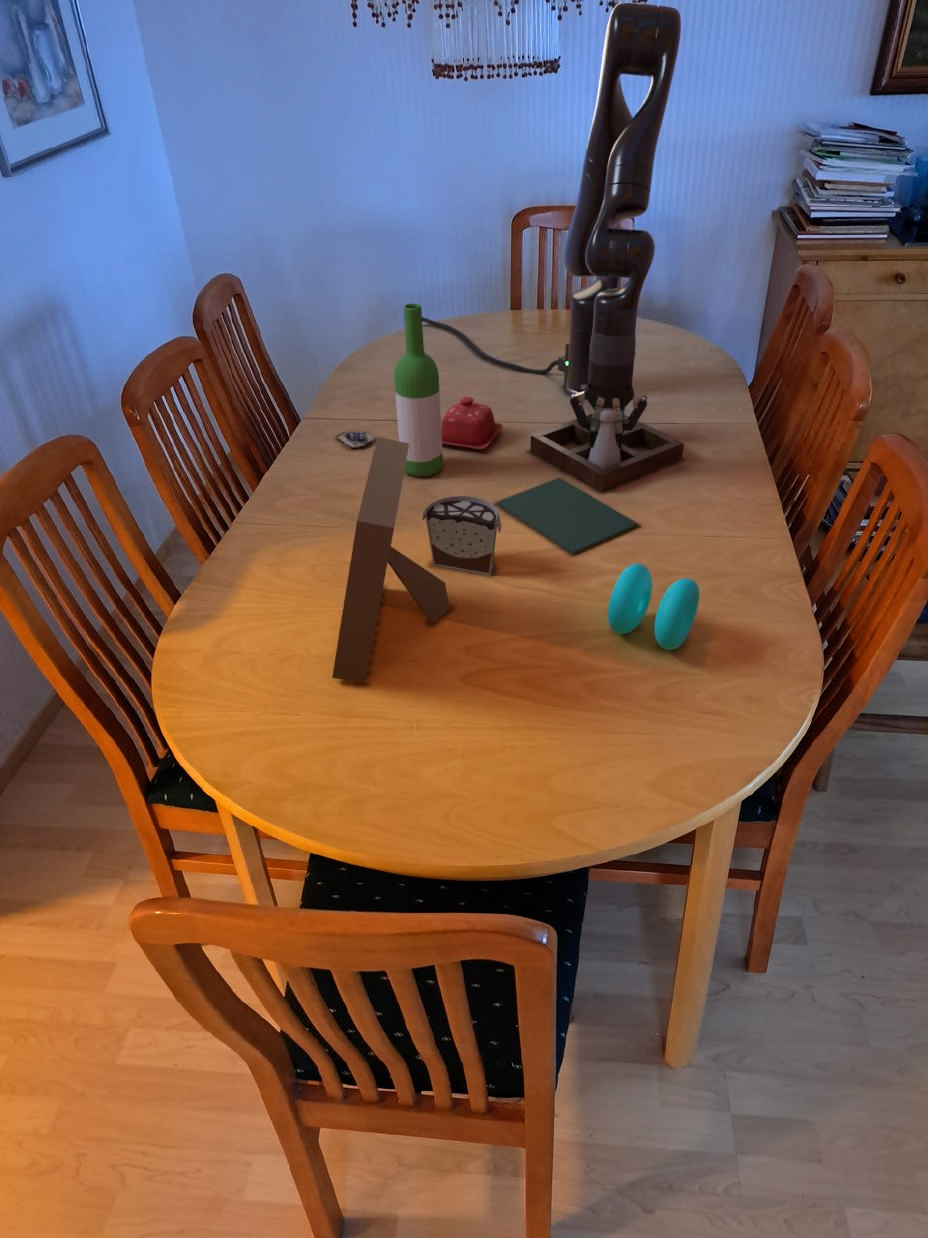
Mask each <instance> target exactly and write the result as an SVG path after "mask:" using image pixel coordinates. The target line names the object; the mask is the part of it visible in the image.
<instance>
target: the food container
mask: <svg viewBox="0 0 928 1238" xmlns="http://www.w3.org/2000/svg"><path fill="white" fill-rule="evenodd" d="M421 520H422V521H425V523H426V528H427V534H428V540H429V541H428V542H429V546H430V551H431V553H430V554H431V557H432V565H433V566H434V567H441V568H447V569H452V570H457V571H464V572H470V573H473V574H474V573H476V574H480V575H486V576H491V575H492V572H493V566H494V558H495V557H494V556H495V548H496V539H497V531H498V533H501V530H502V522H501V516H500V514H499V512H498V510H497V508H496V507H495V506H494V504H492V503H491V502H490V501H487V500H485V499H483V498H480V497H474V496H469V495H454V496H447V497H443V498H440V499H437V500H435V501H432V502H431V503H430V504H428V505H427V506H426V507H425V508H424V511H423V513H422V519H421Z"/></svg>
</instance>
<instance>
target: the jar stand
mask: <svg viewBox="0 0 928 1238" xmlns="http://www.w3.org/2000/svg"><path fill="white" fill-rule="evenodd" d="M592 415H593V412H591V413H589V414H586V416H587V418H588V419H590V420H591V419H592ZM629 416H630V415H629ZM629 416H628V415H626V414H625V413H624V420H623V421H626V420H627V419H628V418H629ZM589 440H590V431H589V430H588V429H587V428H581V427H580V425H579V423H578V420H577V418H576V419H573V420H569V421H567V422H564V423H561V424H558V425H556V426H552V427H550V428H547V429H543V430H541V431H539V432H536V433H533V434H531V435H530V453H531V454H533V455H535V456H537V457H539V458H540V459H541V460H544V461H545V462H547V463H549V464H551V465H553V466H554V467H556V468H558V469H559V470H561V471H563V472H564V473H567V474H568V475H570V476H572V477H574V478H575V479H577V480H579V481H581V482H582V483H584V484H585V485H587V486H589V487H591V488H593V489H594V490H596V491H598V492H600V493H604V492H607V491H609V490H613V489H614V488H617V487H619V486H621V485H624V484H626V483H629V482H631V481H634V480H636V479H639V478H642V477H644V476H646V475H648V474H651V473H653V472H656V471H658V470H660V469H661V470H662V469H664V468H666V467H668V466H671V465H673V464H676V463H678V462H681V461H682V460H683V455H684V450H685V449H684V447H685V442H684V441H681V440H679V439H677V438H675V437H673V436H671V435H669V434H667V433H664V432H663V431H660V430H659V429H656V428H654V427H652V426H650V425H648V424H645V423H644V422H642V421H639V420H638V421H637V423H636V425H635V426H634V428H633V429H632V430H631V431H629V430H626V431H624V432H623V434H622V443H621V448H620V456H621V462H620V463H618V464H615V465H613V466H610V467H608V468H605V469H603V468H601V467H599V466H597V465H595V464H593V463H592V462H590V461H588V459H589V455H590V451H591V447H590V446H589ZM572 442H573V443H575V444H577V445H579V446H577V447H574V448H571V449H569V448H566V447H564V446H563V445H567V444H570V443H572ZM638 446H643V448H647V449H648V450H649V451H646V452H644V453H641V452H639V451H636V450H634V449H633V448H636V447H638Z"/></svg>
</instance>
